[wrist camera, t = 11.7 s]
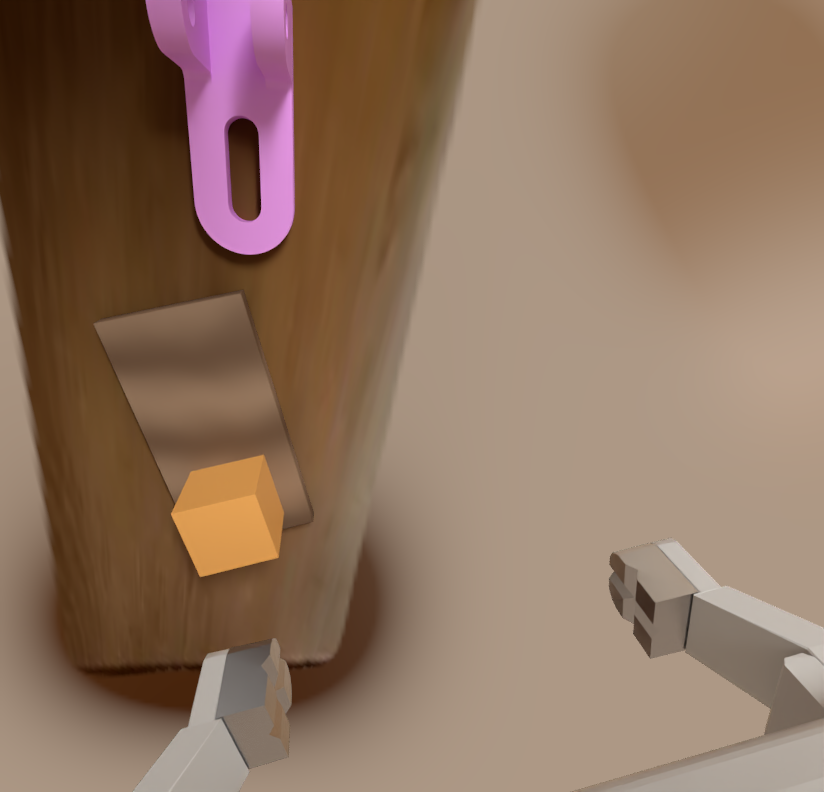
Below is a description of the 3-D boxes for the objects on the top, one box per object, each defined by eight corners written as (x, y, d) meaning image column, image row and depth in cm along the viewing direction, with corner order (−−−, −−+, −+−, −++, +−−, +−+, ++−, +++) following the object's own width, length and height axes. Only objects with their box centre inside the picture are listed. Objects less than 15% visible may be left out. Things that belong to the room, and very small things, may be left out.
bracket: (183, -8, 26) (138, -71, 20) (292, 8, 27) (282, -47, 21) (203, 248, 31) (172, 265, 25) (295, 254, 32) (288, 271, 26)
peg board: (101, 318, 31) (66, 339, 27) (243, 289, 32) (231, 305, 28) (199, 539, 39) (184, 583, 34) (313, 512, 39) (312, 552, 35)
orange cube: (190, 471, 35) (170, 514, 30) (263, 454, 35) (255, 494, 31) (215, 529, 37) (200, 577, 33) (284, 512, 38) (278, 557, 33)
